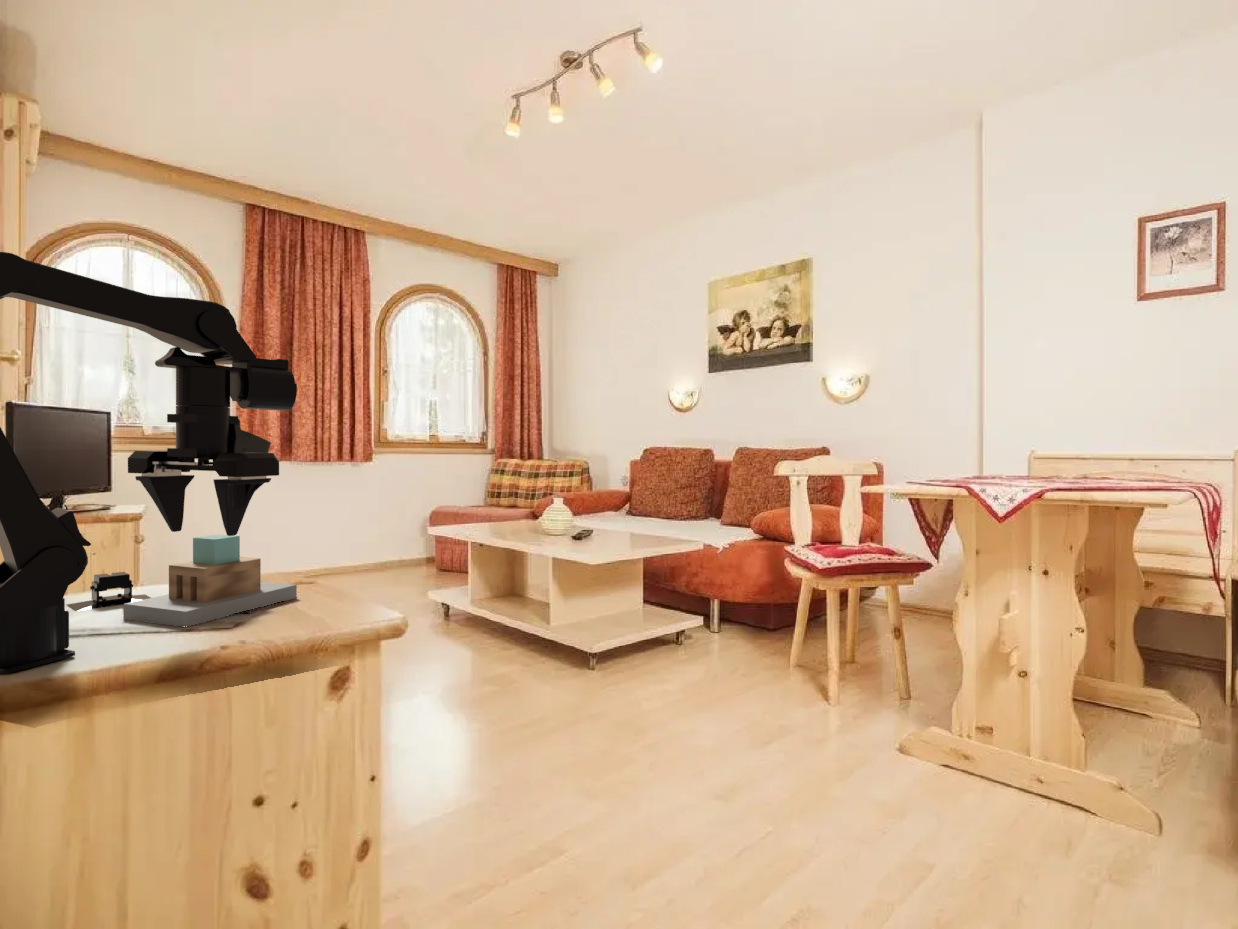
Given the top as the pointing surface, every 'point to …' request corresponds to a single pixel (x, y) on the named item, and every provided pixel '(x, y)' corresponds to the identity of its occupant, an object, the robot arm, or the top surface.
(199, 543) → the teal cube
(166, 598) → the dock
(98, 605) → the black open frame block
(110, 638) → the top surface
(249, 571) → the wooden slotted block
